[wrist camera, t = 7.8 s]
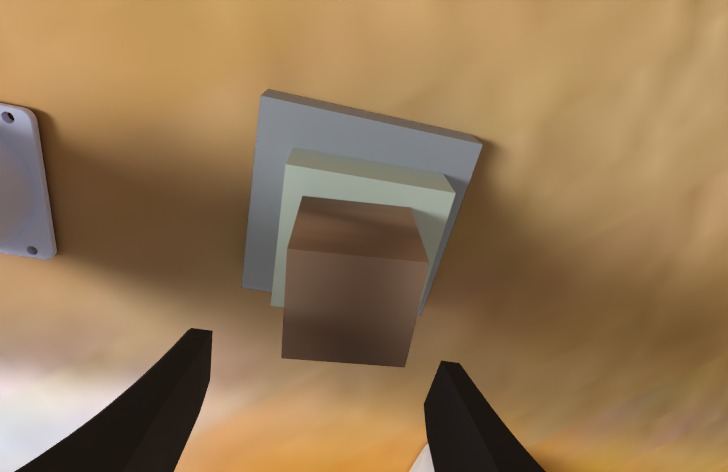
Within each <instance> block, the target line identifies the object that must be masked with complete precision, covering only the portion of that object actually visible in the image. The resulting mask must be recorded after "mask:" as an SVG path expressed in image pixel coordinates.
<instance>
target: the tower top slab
mask: <svg viewBox="0 0 728 472" xmlns="http://www.w3.org/2000/svg"><path fill="white" fill-rule="evenodd" d="M455 194H456V193H455V191H454V190H453V188H452V187H451V185H450V184H449V182H448V181H447V179H446V178H445V176H444V175H443V173H437V172H431V171H426V170H420V169H414V168H408V167H403V166H397V165H391V164H386V163H380V162H374V161H368V160H363V159H357V158H351V157H346V156H340V155H334V154H329V153H323V152H317V151H311V150H306V149H300V148H294V147H293V148H292V151H291V153H290V155H289V157H288V160H287V162H286V164H285V173H284V183H283V192H282V202H281V211H280V221H279V230H278V240H277V249H276V258H275V268H274V277H273V287H272V296H271V306H275V307H283V308H284V298H285V278H286V258H287V247H288V244H289V240H290V237H291V233H292V230H293V226H294V223H295V219H296V216H297V212H298V209H299V206H300V202H301V199H302V196H310V197H319V198H328V199H337V200H347V201H356V202H365V203H374V204H383V205H392V206H401V207H410V208H411V210H412V213H413V216H414V219H415V222H416V225H417V228H418V231H419V234H420V237H421V239H422V242H423V245H424V248H425V251H426V254H427V257H428V260H429V267H428V271H427V276H426V280H425V284H424V288H423V293H422V297H421V301H422V298H423V295H424V292H425V288H426V285H427V282H428V279H429V276H430V273H431V269H432V266H433V263H434V260H435V257H436V254H437V251H438V247H439V244H440V241H441V238H442V235H443V232H444V228H445V225H446V222H447V219H448V216H449V213H450V209H451V206H452V203H453V200H454V197H455ZM421 301H420V304H421ZM419 307H420V305H419ZM418 311H419V309H418Z"/></svg>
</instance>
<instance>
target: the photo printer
mask: <svg viewBox="0 0 728 472" xmlns="http://www.w3.org/2000/svg"><path fill="white" fill-rule="evenodd" d="M409 472H434V467H433V463H432V458H431V453H430V449H429V444H427V445H426V446H425V447H424V448H423V450H422V451H421V453H420V455H419V456H418V458H417V459H416V461H415V463H414V464H413V466H412V468H411V469H410V471H409Z"/></svg>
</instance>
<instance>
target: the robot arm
mask: <svg viewBox="0 0 728 472" xmlns="http://www.w3.org/2000/svg"><path fill="white" fill-rule="evenodd" d="M8 112H9V113H11V114H12V115H13V117H14V121H12V120H11V119H10V118H9V116H8ZM33 247H35V248H36V249H37V251H36V250H34V249H33ZM0 253H4V254H11V255H17V256H24V257H31V258H37V259H44V260H48V259H51V258H52V257H53V256H55V255H56V253H57V249H56V242H55V235H54V229H53V222H52V215H51V209H50V202H49V195H48V189H47V182H46V175H45V169H44V162H43V155H42V149H41V142H40V135H39V129H38V122H37V118H36V116H35V115H34V113H33V112H32V111H30V110H29V109H27V108H24V107H19V106H14V105H9V104H4V103H0ZM211 350H212V331H209V330H202V329H194V328H191V329H189V330H188V331H187V332H186V333H185V334H184V335H183V336H182V337H181V338H180V339H179V340H178V341H177V343H176V344H175V345H174V346H173V347H172V348H171V349H170V350H169V351H168V352H167V353H166V354H165V355H164V356H163V357H162V358H161V359H160V360H159V361H158V362H157V363H156V364H155V365H154V366H152V367H151V368H150V369H149V370H148V371H147V372H146V373H145V374H144V375H143V376H142V377H141V378H140V379H139V380H137V381H136V382H135V383H134V384H133V385H132V386H131V387H129V388H128V389H127V390H126V391H125V392H124V393H122V394H121V395H120V396H119V397H118V398H117V399H115V400H114V401H113V402H112V403H111V404H109V405H108V406H107V407H106V408H105V409H103V410H102V411H101V412H100V413H98V414H97V415H96V416H94V417H93V418H92V419H91V420H89V421H88V422H87V423H85V424H84V425H83V426H81V427H80V428H78V429H77V430H76V431H74V432H73V433H72V434H70V435H69V436H67V437H66V438H65V439H63V440H62V441H60V442H59V443H57V444H56V445H54V446H53V447H51V448H50V449H49V450H47V451H46V452H44V453H43V454H41V455H40V456H38V457H37V458H35V459H34V460H32V461H31V462H29V463H27V464H26V465H24V466H23V467H21V468H20V469H18V470H16V471H15V472H174V470H175V467H176V465H177V463H178V461H179V458H180V456H181V454H182V452H183V449H184V447H185V445H186V443H187V440H188V438H189V436H190V433H191V431H192V429H193V427H194V424H195V422H196V420H197V417H198V415H199V413H200V410H201V407H202V404H203V400H204V397H205V394H206V391H207V388H208V384H209V381H210V370H211ZM424 412H425V423H426V432H427V439H428V444H429V449H430V453H431V458H432V463H433V467H434V472H546V471H545V470H544V469H543V468H542V467H541V466H540V465H539V464H538V463H537V462H536V461H535V460H534V459H533V457H532V456H531V455H530V454H529V453H528V452H527V451H526V449H525V448H524V447H523V446H522V445H521V444H520V442H519V441H518V440H517V439H516V438H515V436H514V435H513V434H512V433H511V432H510V430H509V429H508V428H507V427H506V425H505V424H504V423H503V422H502V420H501V419H500V418H499V416H498V415H497V414H496V413H495V411H494V410H493V409H492V407H491V406H490V405H489V403H488V402H487V401H486V399H485V398H484V396H483V395H482V394H481V392H480V391H479V390H478V388H477V387H476V385H475V384H474V383H473V381H472V380H471V379H470V377H469V376H468V374H467V373H466V372H465V370H464V369H463V368H462V366H461V365H460V364H459V363H454V362H447V361H441V363H440V365H439V368H438V370H437V373H436V375H435V378H434V380H433V383H432V385H431V388H430V390H429V393H428V395H427V398H426V400H425V403H424Z"/></svg>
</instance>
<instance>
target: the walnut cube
mask: <svg viewBox="0 0 728 472" xmlns="http://www.w3.org/2000/svg"><path fill="white" fill-rule="evenodd" d="M428 267H429V260H428V257H427V254H426V251H425V248H424V245H423V242H422V239H421V237H420V234H419V231H418V228H417V225H416V222H415V219H414V216H413V213H412V210H411V208H410V207H401V206H392V205H383V204H374V203H365V202H356V201H347V200H337V199H328V198H319V197H310V196H302V199H301V202H300V206H299V209H298V212H297V216H296V219H295V223H294V226H293V230H292V233H291V237H290V240H289V244H288V247H287V258H286V278H285V298H284V318H283V338H282V357H281V358H286V359H300V360H313V361H327V362H340V363H353V364H367V365H380V366H394V367H405V364H406V360H407V356H408V352H409V347H410V343H411V339H412V335H413V330H414V326H415V322H416V318H417V314H418V309H419V305H420V301H421V297H422V293H423V288H424V284H425V280H426V276H427V271H428Z"/></svg>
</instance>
